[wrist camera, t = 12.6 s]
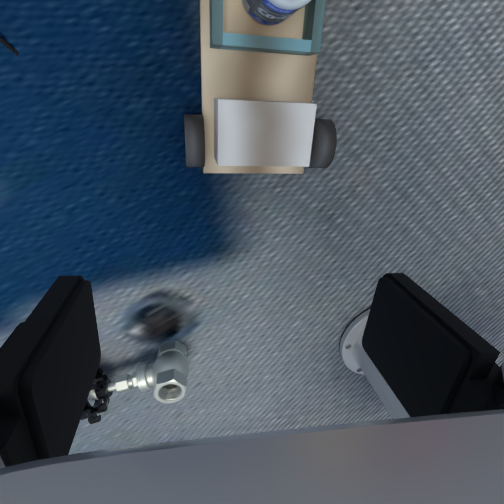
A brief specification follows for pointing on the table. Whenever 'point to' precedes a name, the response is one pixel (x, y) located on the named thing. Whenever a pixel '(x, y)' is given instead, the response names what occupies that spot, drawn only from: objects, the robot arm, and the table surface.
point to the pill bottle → (272, 9)
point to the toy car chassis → (258, 93)
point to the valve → (144, 380)
